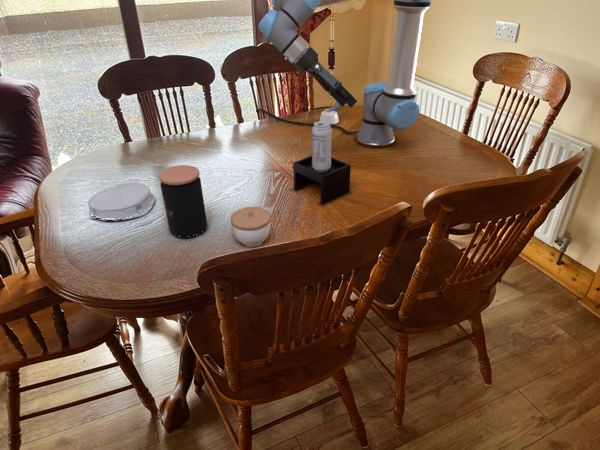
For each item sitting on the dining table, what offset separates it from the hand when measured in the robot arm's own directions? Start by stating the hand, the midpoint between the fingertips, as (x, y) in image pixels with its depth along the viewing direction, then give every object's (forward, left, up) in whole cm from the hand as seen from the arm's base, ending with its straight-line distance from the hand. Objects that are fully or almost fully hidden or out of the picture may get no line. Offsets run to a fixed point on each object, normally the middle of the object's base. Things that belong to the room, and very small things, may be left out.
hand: (349, 104), depth 144 cm
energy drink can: (+5, -14, -18) cm, 23 cm away
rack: (+5, -14, -25) cm, 29 cm away
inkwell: (-50, +31, -26) cm, 64 cm away
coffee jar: (+3, -59, -26) cm, 64 cm away
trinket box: (+18, -46, -26) cm, 56 cm away
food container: (-21, -72, -26) cm, 79 cm away
